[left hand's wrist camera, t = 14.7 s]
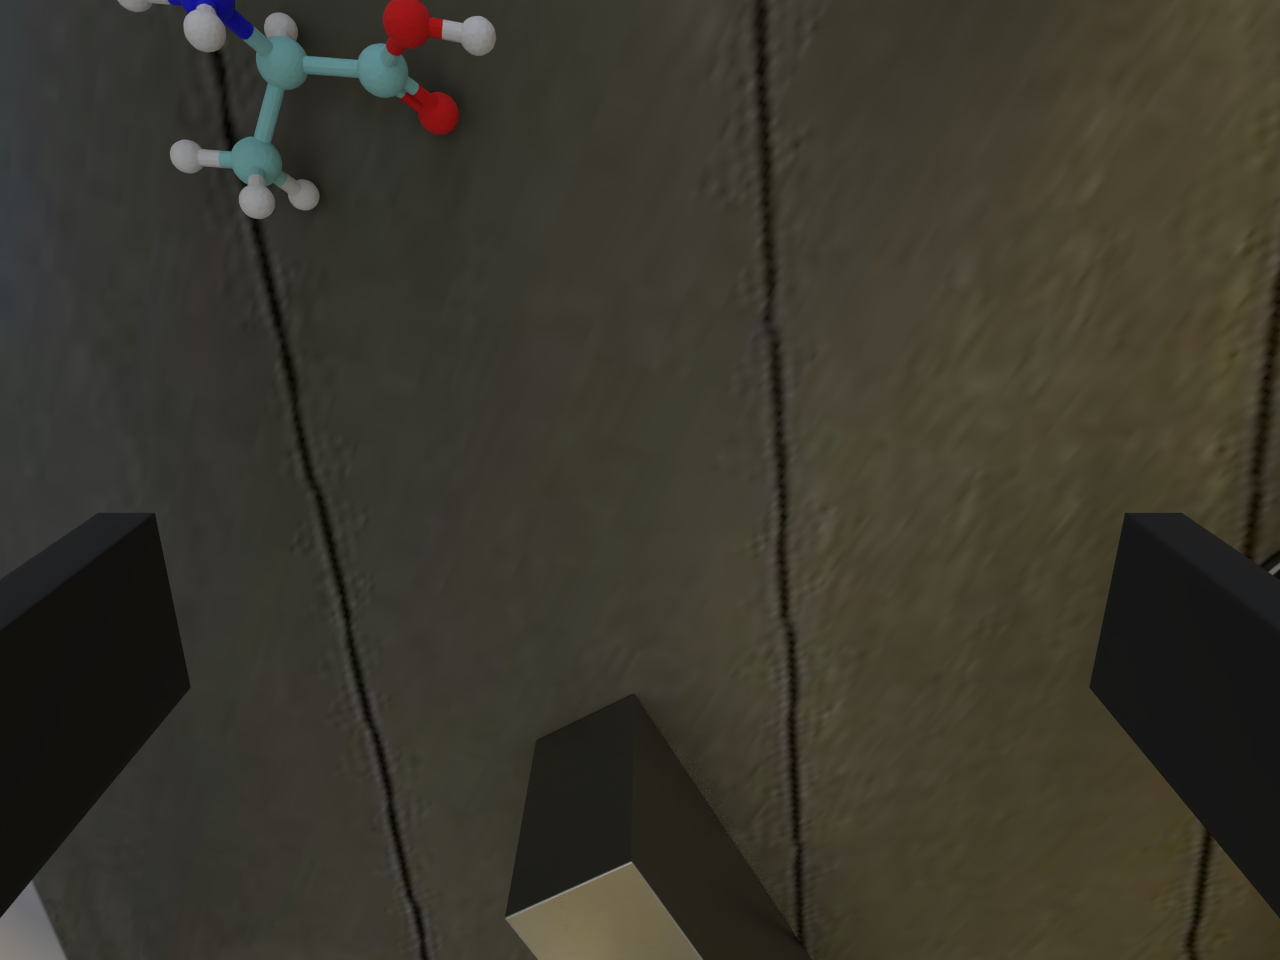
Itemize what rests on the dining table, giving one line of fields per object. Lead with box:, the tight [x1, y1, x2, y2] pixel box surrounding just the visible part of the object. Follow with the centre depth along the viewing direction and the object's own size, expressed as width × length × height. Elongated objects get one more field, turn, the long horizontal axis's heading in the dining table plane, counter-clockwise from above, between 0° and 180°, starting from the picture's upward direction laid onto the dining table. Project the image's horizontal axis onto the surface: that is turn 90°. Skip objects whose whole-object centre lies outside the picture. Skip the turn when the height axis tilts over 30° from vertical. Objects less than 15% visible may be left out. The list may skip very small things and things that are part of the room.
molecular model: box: [118, 0, 496, 219], centre depth 33 cm, size 12×10×10 cm
